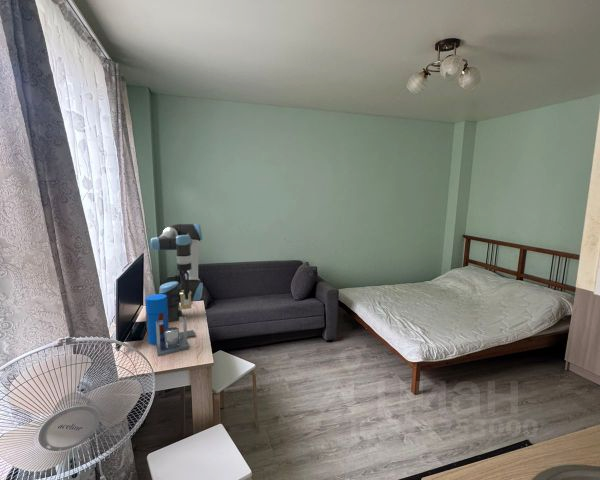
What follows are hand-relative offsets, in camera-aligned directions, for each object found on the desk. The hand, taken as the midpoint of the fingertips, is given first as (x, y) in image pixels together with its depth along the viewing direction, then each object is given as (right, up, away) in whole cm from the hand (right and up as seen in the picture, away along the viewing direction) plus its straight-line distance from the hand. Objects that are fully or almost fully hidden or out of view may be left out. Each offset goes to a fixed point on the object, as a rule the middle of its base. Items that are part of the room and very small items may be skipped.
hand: (185, 302), depth 173 cm
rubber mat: (0, -20, +3) cm, 20 cm away
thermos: (-14, -21, -3) cm, 25 cm away
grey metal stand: (-3, -22, -12) cm, 25 cm away
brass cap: (0, -3, 0) cm, 3 cm away
